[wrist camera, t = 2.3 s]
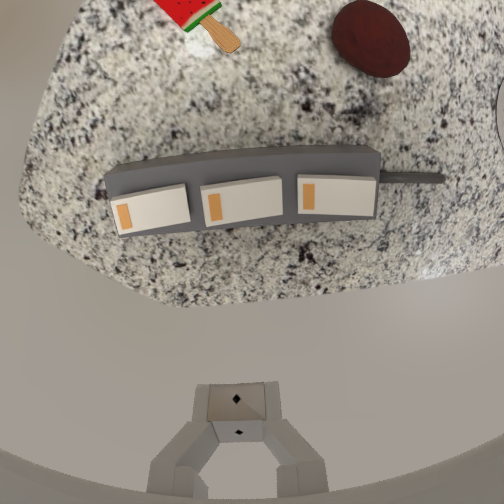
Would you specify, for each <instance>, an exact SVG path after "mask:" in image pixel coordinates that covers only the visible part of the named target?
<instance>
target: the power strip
mask: <svg viewBox="0 0 504 504" xmlns="http://www.w3.org/2000/svg"><path fill="white" fill-rule="evenodd" d="M380 162H381V153H379V152H378V151H376V150H374V149H372V148H371V147H369V146H367V145H302V146H278V147H261V148H246V149H234V150H223V151H213V152H203V153H194V154H186V155H178V156H170V157H163V158H156V159H150V160H143V161H137V162H131V163H125V164H120V165H117V166H116V167H114V168H113V169H111V170H110V171H109V172H107V173H106V174H105V175H103V176H104V180H105V185H106V189H107V193H108V197H109V202H110V201H111V199H112V197H116V196H121V195H125V194H130V193H135V192H140V191H145V190H150V189H155V188H161V187H166V186H172V185H177V184H183V183H185V189H186V195H187V201H188V208H189V214H190V221H191V222H185V223H180V224H174V225H169V226H163V227H158V228H152V229H147V230H142V231H137V232H131V233H126V234H121V235H119V234H118V236H119V238H123V237H133V236H144V235H154V234H166V233H177V232H189V231H201V230H213V229H226V228H239V227H253V226H267V225H282V224H298V223H314V222H331V221H350V220H370V219H376V212H377V202H378V191H379V183H434V184H442V183H444V182H445V176H444V175H443V174H435V173H398V172H380ZM298 174H307V175H341V176H363V177H374V178H375V180H376V190H375V202H374V212H373V216H354V215H328V214H298V179H297V178H298ZM277 175H278V176H279V177H280V178H281V179H282V205H283V215H277V216H270V217H264V218H257V219H251V220H245V221H239V222H233V223H227V224H221V225H215V226H209V227H206V223H205V218H204V211H203V204H202V197H201V190H200V186H205V185H212V184H218V183H225V182H232V181H239V180H246V179H253V178H261V177H269V176H277ZM110 206H111V203H110ZM111 210H112V207H111ZM112 214H113V211H112ZM113 217H114V215H113ZM114 221H115V219H114ZM115 225H116V223H115ZM116 229H117V226H116ZM117 232H118V230H117Z"/></svg>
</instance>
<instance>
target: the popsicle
mask: <svg viewBox="0 0 504 504" xmlns="http://www.w3.org/2000/svg"><path fill="white" fill-rule="evenodd" d="M154 1H155V2H156V3H157V4H158V5H159V6H160V7H161V8H162V9H163V10H164V11H165V12H166V13H167V14H168V15H169V16H170V17H171V18H172V19H173V20H174V21H175V22H176V23H177V24H178V25H179V26H180V27H181V28H182V29H183V30H184V31H185V32H189V31H191V30H192V29H193V28H194V27H196V26H197V25H198V24H199V23H200V24H201V25H202V26H204V27H205V28H206V29H207V30H208V32H209V33H210V35H211V37H212V39H213V40H214V41H215V42H216V43H217V44H218V45H219V46H220V47H221V48H222V49H223V50H224V51H225V52H228V53H232V52H233V51H235V50H236V49H237V48H238V47H240V41H239V39H238V38H237V37H236V36H235V35H234V34H233V33H232V32H231V31H230V30H229V29H228V28H227V27H225V26H223V25H221V24H220V23H218V22H217V21H216V20H215V19H214V18H213V17H212V16H210V15H211V14H212V13H213V12H215V11H216V10H217V9H219V8H220V7H221V6H222V5H221V2H220V1H219V0H154Z"/></svg>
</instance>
